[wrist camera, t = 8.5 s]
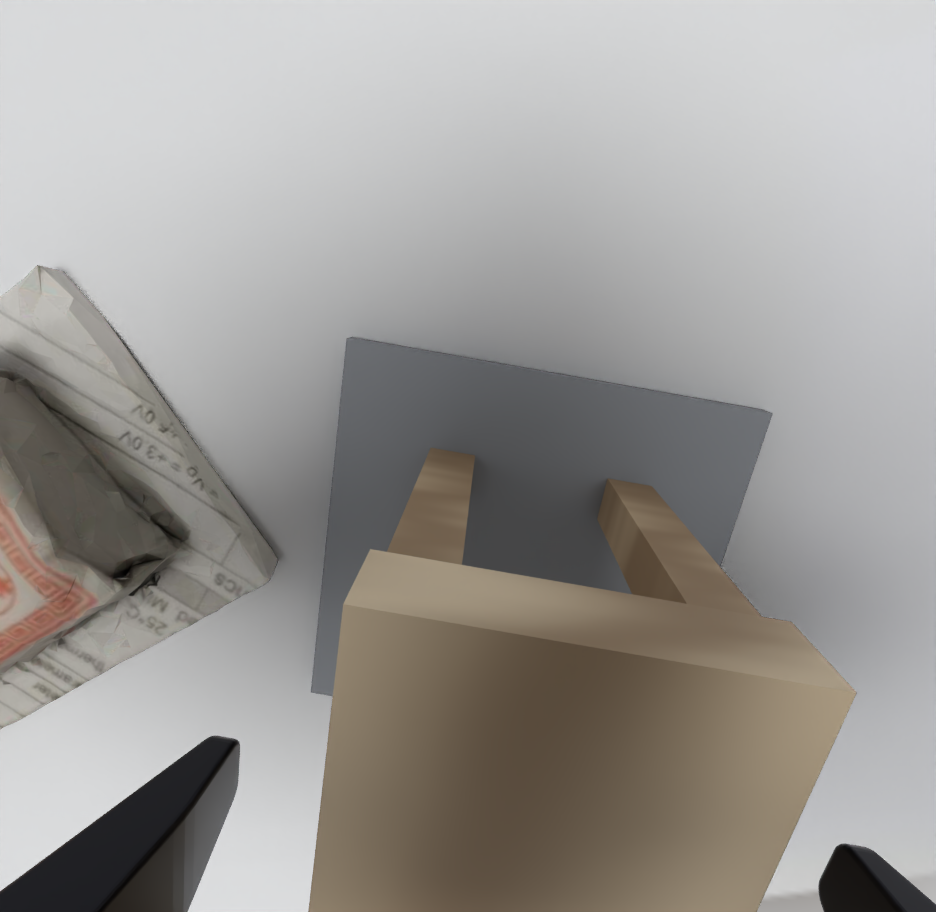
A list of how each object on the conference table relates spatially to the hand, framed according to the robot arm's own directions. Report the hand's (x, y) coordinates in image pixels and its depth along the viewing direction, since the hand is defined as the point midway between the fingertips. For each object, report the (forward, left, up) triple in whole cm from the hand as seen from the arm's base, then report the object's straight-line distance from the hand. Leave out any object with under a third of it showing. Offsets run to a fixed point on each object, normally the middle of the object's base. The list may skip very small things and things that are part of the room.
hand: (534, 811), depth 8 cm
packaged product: (+17, +3, -9) cm, 19 cm away
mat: (0, 0, -8) cm, 8 cm away
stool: (0, 0, -8) cm, 8 cm away
